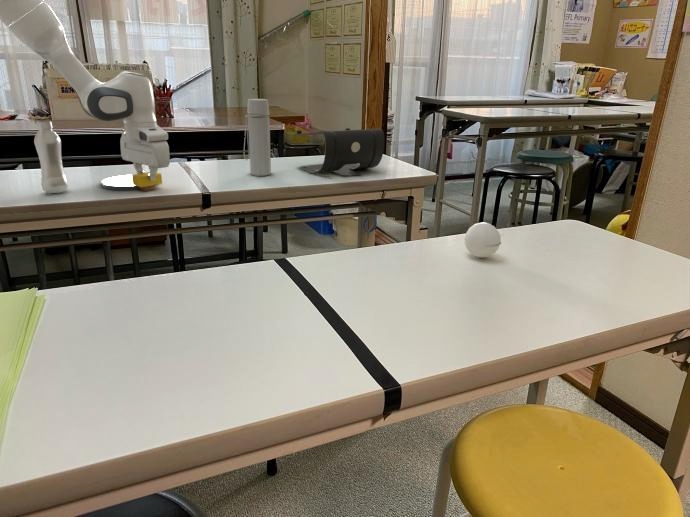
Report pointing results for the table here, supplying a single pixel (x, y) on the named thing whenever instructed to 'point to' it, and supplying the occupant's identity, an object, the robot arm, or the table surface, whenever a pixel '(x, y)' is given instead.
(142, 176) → the sponge
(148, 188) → the crust
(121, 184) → the plate
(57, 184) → the plastic bottle
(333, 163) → the laptop stand
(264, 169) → the water bottle
